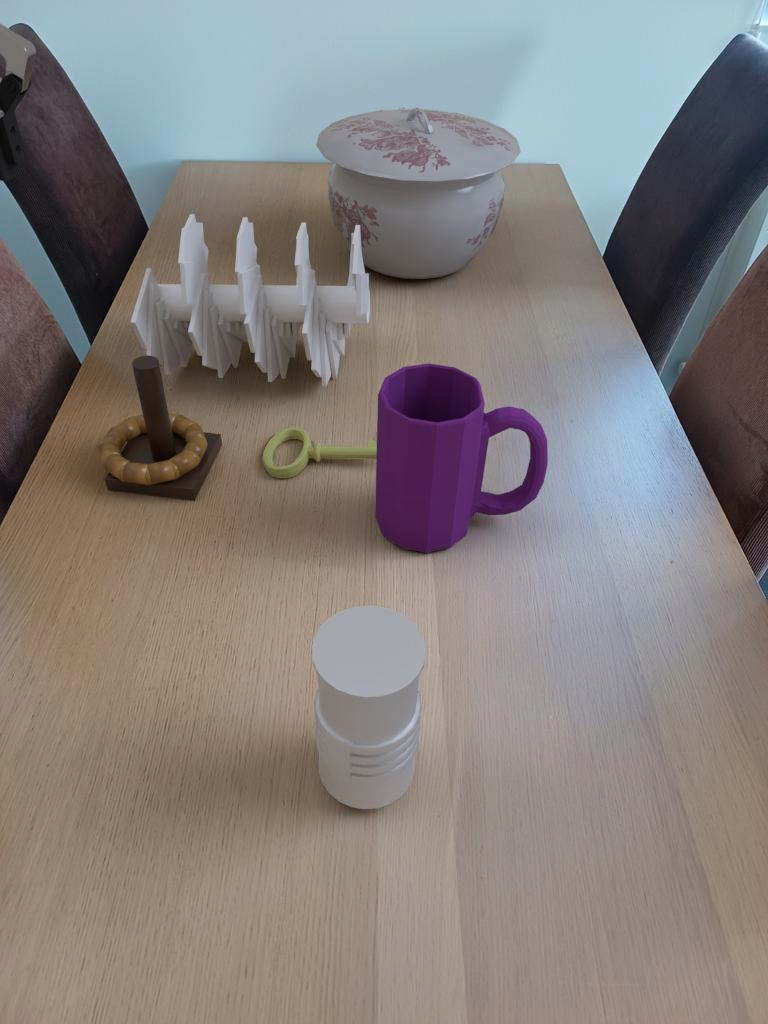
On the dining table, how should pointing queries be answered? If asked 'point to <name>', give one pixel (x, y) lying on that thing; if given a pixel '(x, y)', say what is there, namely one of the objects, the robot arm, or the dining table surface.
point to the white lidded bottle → (367, 704)
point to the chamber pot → (417, 187)
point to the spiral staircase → (249, 310)
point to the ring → (158, 470)
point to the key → (310, 452)
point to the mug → (443, 456)
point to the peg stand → (161, 440)
